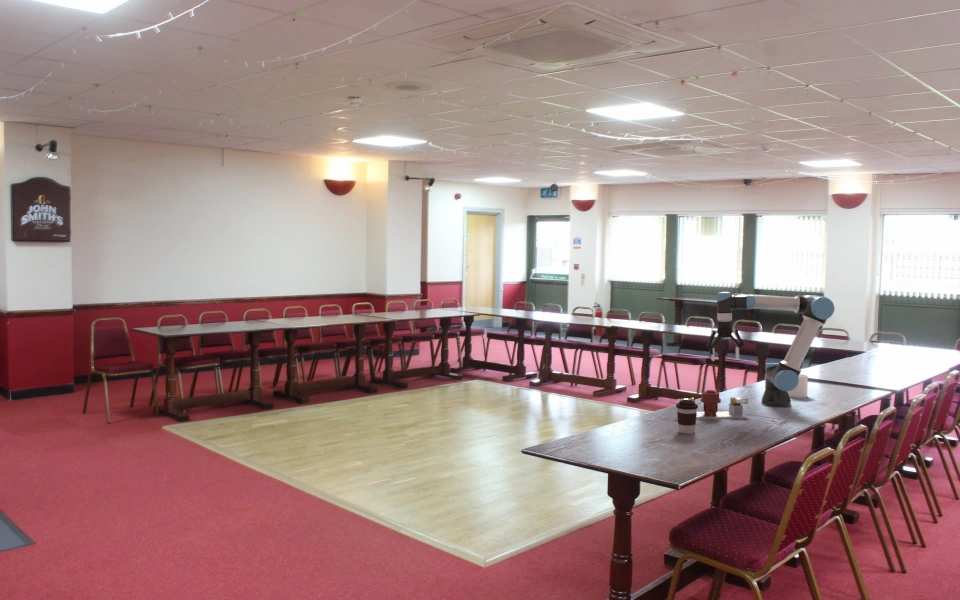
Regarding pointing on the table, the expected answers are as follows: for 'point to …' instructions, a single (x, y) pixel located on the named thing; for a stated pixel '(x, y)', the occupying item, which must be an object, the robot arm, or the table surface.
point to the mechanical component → (710, 401)
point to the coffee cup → (686, 416)
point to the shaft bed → (733, 412)
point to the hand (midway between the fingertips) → (725, 359)
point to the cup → (800, 388)
